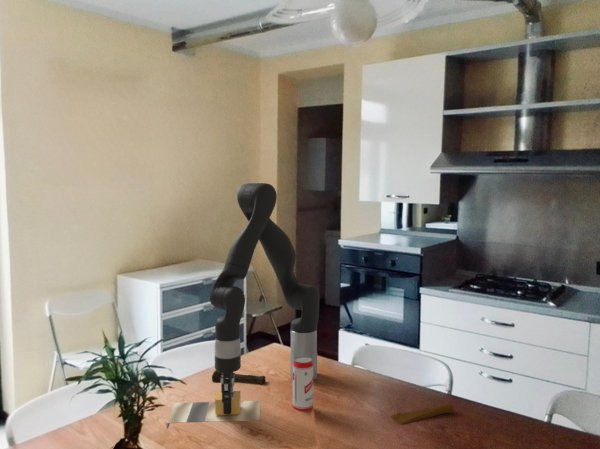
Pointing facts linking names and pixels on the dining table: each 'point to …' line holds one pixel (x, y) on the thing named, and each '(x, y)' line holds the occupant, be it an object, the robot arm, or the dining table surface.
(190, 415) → the board
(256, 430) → the dining table surface
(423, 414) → the primitive tool
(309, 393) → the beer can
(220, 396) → the yellow block
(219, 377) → the black flashlight
